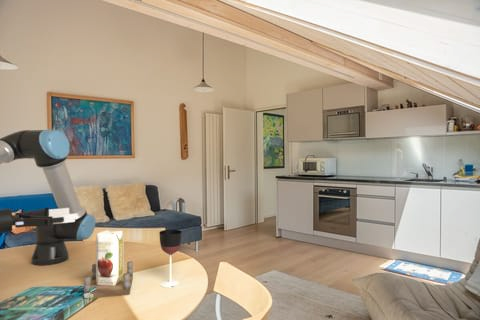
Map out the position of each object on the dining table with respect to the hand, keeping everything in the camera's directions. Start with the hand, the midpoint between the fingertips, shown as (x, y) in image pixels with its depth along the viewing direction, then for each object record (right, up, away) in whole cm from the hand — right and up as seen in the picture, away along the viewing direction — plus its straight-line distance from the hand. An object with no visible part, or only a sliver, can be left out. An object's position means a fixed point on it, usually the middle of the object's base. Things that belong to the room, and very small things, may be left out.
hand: (71, 214), depth 115 cm
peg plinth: (+11, -29, +6) cm, 31 cm away
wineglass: (+33, -29, +11) cm, 45 cm away
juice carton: (+11, -27, +6) cm, 30 cm away
